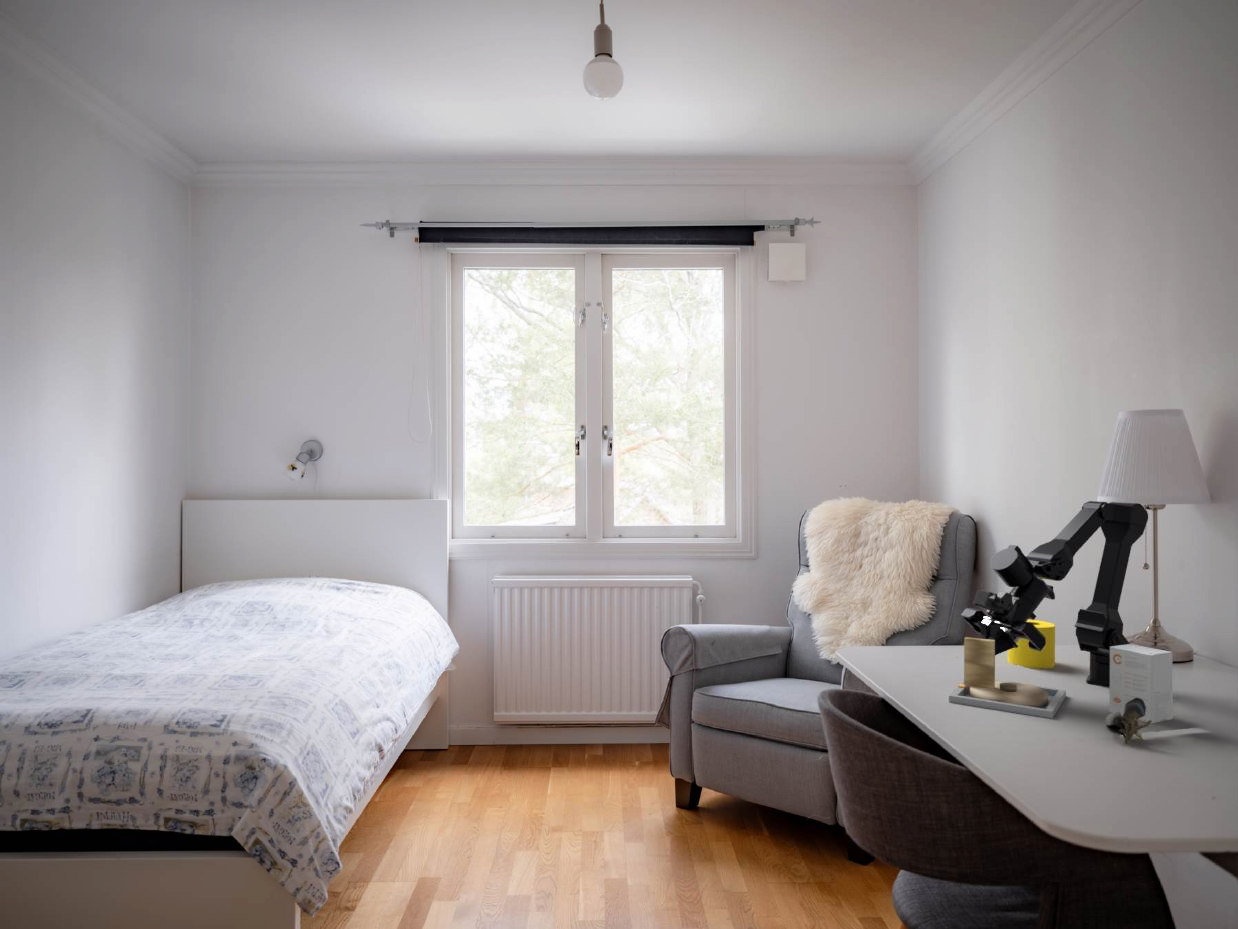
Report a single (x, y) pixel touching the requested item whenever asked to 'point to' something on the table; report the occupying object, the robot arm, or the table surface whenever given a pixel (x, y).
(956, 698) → the bezel plate
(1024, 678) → the table surface
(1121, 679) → the small box
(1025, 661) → the tape roll
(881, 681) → the table surface
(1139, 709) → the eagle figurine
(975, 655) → the beige disc with bar
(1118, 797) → the table surface
